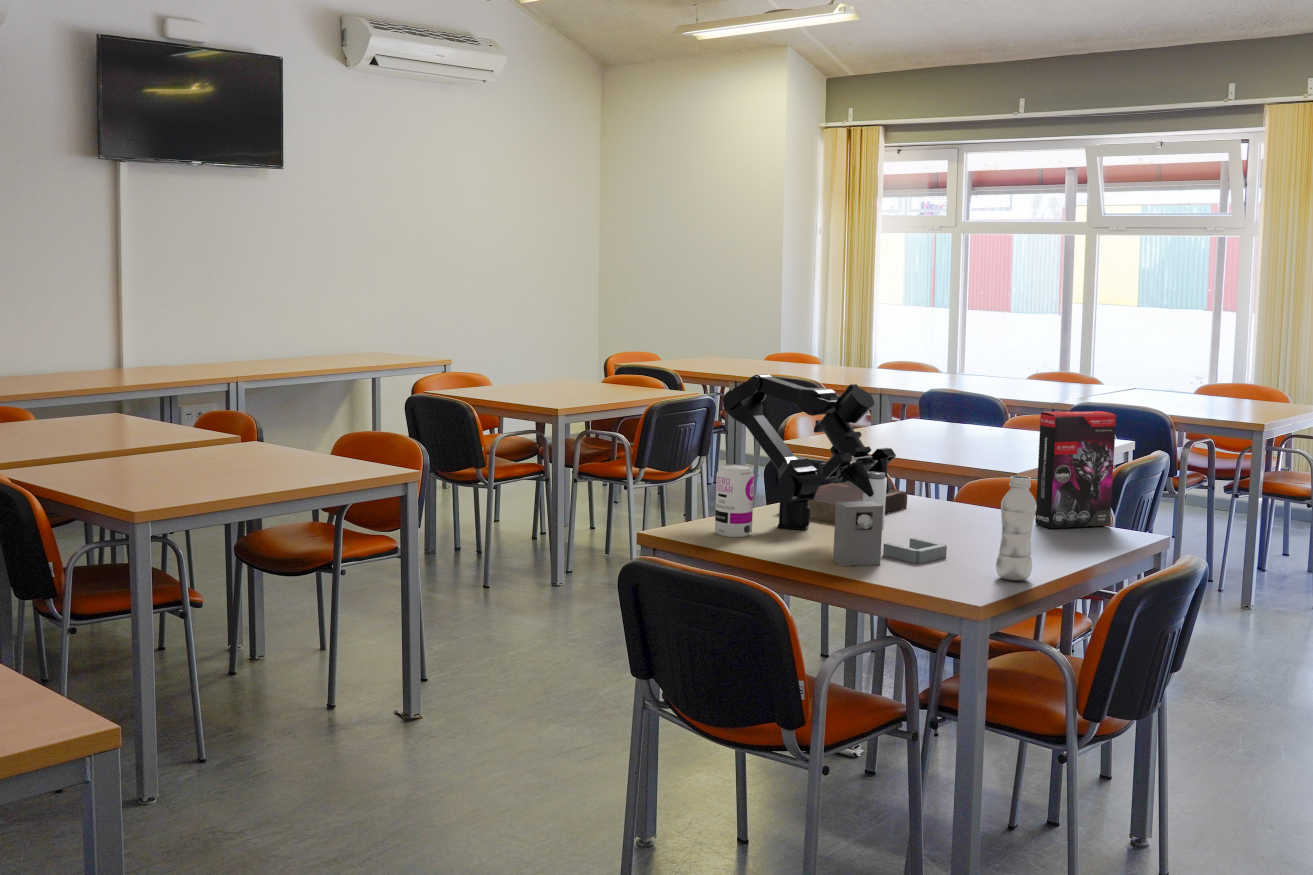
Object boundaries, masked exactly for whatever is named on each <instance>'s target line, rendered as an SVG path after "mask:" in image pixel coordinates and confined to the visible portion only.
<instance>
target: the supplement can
mask: <svg viewBox="0 0 1313 875" xmlns="http://www.w3.org/2000/svg"><path fill="white" fill-rule="evenodd" d="M715 480H716V481H715V482H716V484H715V485H716V486H715V487H716V488H715V509H714V511H715V514H714V531H715V532H716V533H717V535H719V536H722V537H727V538H744V537H748V536H749V535H750V534H751V533H752V532H753V514H754V512H753V511H754V507H753V506H754V486H755V484H754V482H755V475H754V471H753V470H752V467H751V466H749V465H742V464H723V465H719V469H718V470H717V472H716V479H715Z"/></svg>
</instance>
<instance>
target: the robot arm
mask: <svg viewBox="0 0 1313 875" xmlns="http://www.w3.org/2000/svg"><path fill="white" fill-rule="evenodd" d="M767 395H768V396H771V397H773V398H775V399H776V398H777V399H779V400H782V401H785V402H789V403H791V404H793V405H794V406H796V407H797V409H798V410H800V411H802V412H803V413H805V414H806V415H808V416H812V417H814V416H823V415H824V416H823V417H822V418H821V419H817V420H815V425H814V427H813V433H814V434H816V433H824V434H825V436H826V437H827V439H828V440H829V442H830V445H831V447H830V448H829V450H830V453H831V455H832V456H831V457H830V458H829V459H828V460H827V461H826V462H822V463H820V462H819V464H818V466H817V468H816V467H815V466H814V465H813V464H812V462H811V460H810V459H809V458H807V457H805V458H804V457H802V458H797V457H796V456H795V454H794V453H793V452H792V451H791V449H790V448H789V447H788V446H787V444H786V443H785V442H784V440H783V439H782V437H780V434H779V433H778V432H777V431H776V430H775V428H774V427H773V426H772V424H771V423H770V422H769V420H768V418H766V417H765V415H764V413H763V410H764V409H763V401H765V399H766V398H767ZM874 405H875V400H874V397H873V396H872V395H871V393H869V392H867V391H866V390H865V389H863V388H861V387H860V386H858V384H857V383H853V384H849V385H848V386H847V387H846V389H845V391H844V392H842V394H841V395H838V394H837V392H836V391H835V390H833V389H831V388H823V387H822V388H821V387H805V386H802V385H798V384H796V383H793V382H790V381H786V380H783V379H781V378H777V377H773V376H772V375H770V374H768V373H766V374H754V375H753V376H751V377H750V378H749V379H748V380H747V381H744V382H743V383H741V384H738V385H737V386H735V387H733V389H732V390H728V391H727V392H726V393H725V394H724V397H723V400H722V406H723V410H724V411H725V412H726V414H727V415H728V416H730V417H731V418H732V419H733V420H734V421H735V422H738V423H740V424H742V425H744V426H745V427H746V428H747V430H748V431H749V432H750V434H751V435H752V436H753V438H754V439H755V440H756V442H757V444H759V446H760V447H761V449H762V451H764V453H765V454H766V455H767V457H768V458H769V460H771V462H772V464H773V465H774V466H775V467H776V469H777V475H778V476H777V478H778V482H779V484H778V485H777V486H776V487H775V488H774V489H773V490H772V495H773V500H774V501H775V502H779V507H778V508H779V509H778V510H779V511H778V524H777V528H779V529H790V530H792V529H793V530H805V531H806V530H807V529H808V527H809V526H810V524H811V518H810V506H808V500H814V497H815V494H816V492H817V490H818V488H819V486H820V480H821V478H820V476H821V477H822V479H823V480H824V481H827V480H829V481H830V482H831V483H834V484H837V483H845V482H846V481H847V482H852V483H853V484H855V485H856V486H857V487H858V488H859V489H861V490H862V491H863V492H864V493H866V494H867V495H868V496H869V497H871V496H873V494H874V493H873V490H872V486H871V484H870V481H869V479H868V476H867V473H866V472H870V471H875V472H883V473H885V477H886V478H887V486H886V494H887V493H888V492H889V489H890V488H889V480H888V479H889V478H888V465H889V464H890V463H891V462H892V461H893V460H894V459H895V458H896V457H897V454H896V453H895V451H894V449H892V448H890V447H882V448H876V449H875V450H874V451H873V453H871V455H869V454H870V452H872V448H871V447H870V446H865V444H864V443H863V442H862V440H861V439H860V438H861V437H862V436H863V435H862V433H861V432H860V431H855V429H854V428H853V427H852V425H851V424H857V423H859V422H860V420H861V419H862V418H864V417H865V415H866V414H867V413H868V412H869V411H870V410H871V409H872V408H873V407H874ZM850 423H851V424H850ZM819 474H820V476H819Z"/></svg>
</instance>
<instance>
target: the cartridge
mask: <svg viewBox="0 0 1313 875" xmlns="http://www.w3.org/2000/svg"><path fill="white" fill-rule="evenodd" d="M866 473H867V476H868V479H869V481H870V484H871V486H872V490H873V493H874V494H873V496H871V497H869V496H868V495H867V494H866V493H864V492H863V501H873V502H875V503H878V504H880V505H882V506H883V521H882V531H884V529H885V516H886V514H885V501H886V486H887V478H888V477H887V478H886V477H885V473H883V472H875V471H870V472H867V471H866Z"/></svg>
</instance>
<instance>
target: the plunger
mask: <svg viewBox="0 0 1313 875" xmlns="http://www.w3.org/2000/svg"><path fill="white" fill-rule="evenodd" d="M872 524H873V519H872V518H871V517H870V516H869V515H866V514H864V513H862V512H860V513H856V525H857V526H859V527H861V528H863V529H869V528H870V527H871V526H872Z"/></svg>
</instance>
